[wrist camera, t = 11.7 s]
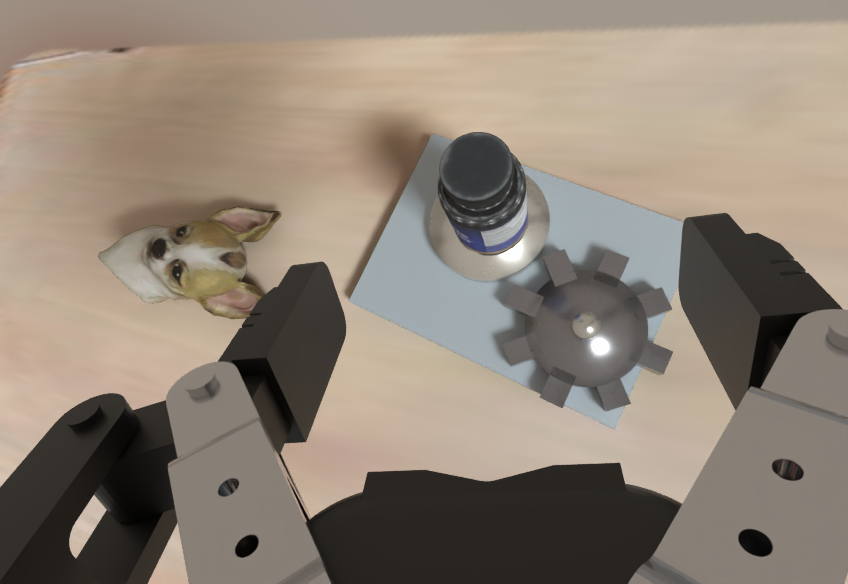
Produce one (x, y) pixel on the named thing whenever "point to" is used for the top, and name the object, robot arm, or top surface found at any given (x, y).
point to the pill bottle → (483, 193)
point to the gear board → (484, 302)
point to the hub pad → (496, 265)
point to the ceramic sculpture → (193, 261)
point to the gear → (587, 329)
